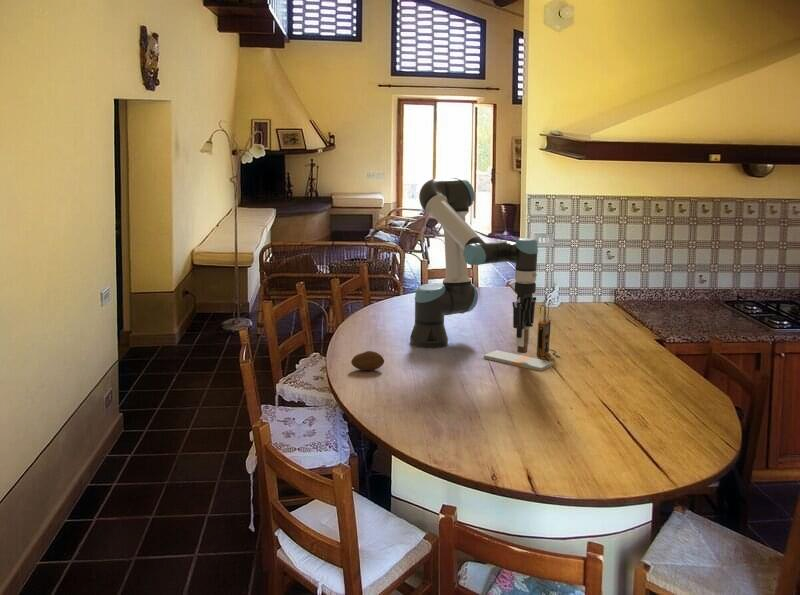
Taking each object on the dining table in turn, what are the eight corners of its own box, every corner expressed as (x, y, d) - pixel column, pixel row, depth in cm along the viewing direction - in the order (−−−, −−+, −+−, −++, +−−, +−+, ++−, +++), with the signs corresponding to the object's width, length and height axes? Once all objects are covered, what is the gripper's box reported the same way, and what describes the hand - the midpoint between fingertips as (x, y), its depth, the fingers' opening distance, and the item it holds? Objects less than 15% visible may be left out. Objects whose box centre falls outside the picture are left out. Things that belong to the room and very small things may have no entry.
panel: (483, 358, 289) (483, 355, 289) (496, 353, 296) (496, 350, 296) (541, 371, 275) (541, 367, 274) (553, 365, 282) (553, 362, 281)
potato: (350, 368, 275) (350, 349, 274) (381, 366, 277) (382, 347, 276) (352, 373, 269) (352, 354, 267) (385, 372, 271) (385, 353, 269)
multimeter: (559, 362, 285) (562, 309, 281) (533, 358, 290) (535, 306, 286) (570, 352, 298) (573, 302, 294) (545, 349, 303) (547, 299, 298)
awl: (515, 352, 282) (516, 322, 280) (520, 349, 285) (521, 320, 282) (524, 353, 280) (525, 324, 278) (528, 351, 283) (530, 322, 280)
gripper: (523, 286, 268) (520, 351, 273) (545, 279, 281) (542, 342, 286) (504, 283, 273) (502, 347, 278) (527, 277, 285) (524, 338, 290)
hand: (522, 344), depth 282 cm, fingers closed on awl, 3 cm apart
